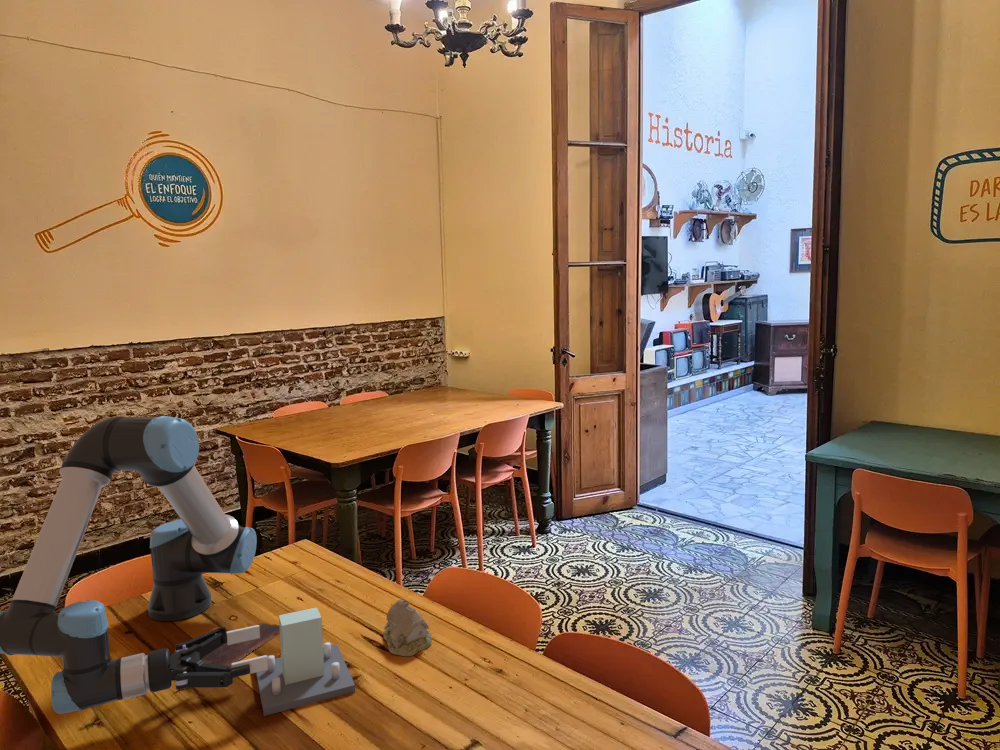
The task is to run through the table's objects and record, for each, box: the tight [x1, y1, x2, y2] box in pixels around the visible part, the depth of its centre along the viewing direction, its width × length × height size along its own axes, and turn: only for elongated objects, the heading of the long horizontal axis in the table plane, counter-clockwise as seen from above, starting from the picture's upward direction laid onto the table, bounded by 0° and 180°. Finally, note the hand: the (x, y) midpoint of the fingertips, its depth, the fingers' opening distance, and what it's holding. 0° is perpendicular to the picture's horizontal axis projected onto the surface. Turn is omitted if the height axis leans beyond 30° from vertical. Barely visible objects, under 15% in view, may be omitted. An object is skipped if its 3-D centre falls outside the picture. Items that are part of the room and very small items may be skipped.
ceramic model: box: [383, 598, 433, 657], centre depth 158 cm, size 14×11×10 cm
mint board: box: [278, 607, 324, 685], centre depth 142 cm, size 5×8×13 cm, turn 115°
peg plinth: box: [255, 641, 356, 717], centre depth 143 cm, size 18×18×4 cm
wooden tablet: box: [202, 623, 280, 667], centre depth 156 cm, size 26×2×10 cm
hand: (263, 645), depth 139 cm, fingers open, 13 cm apart
